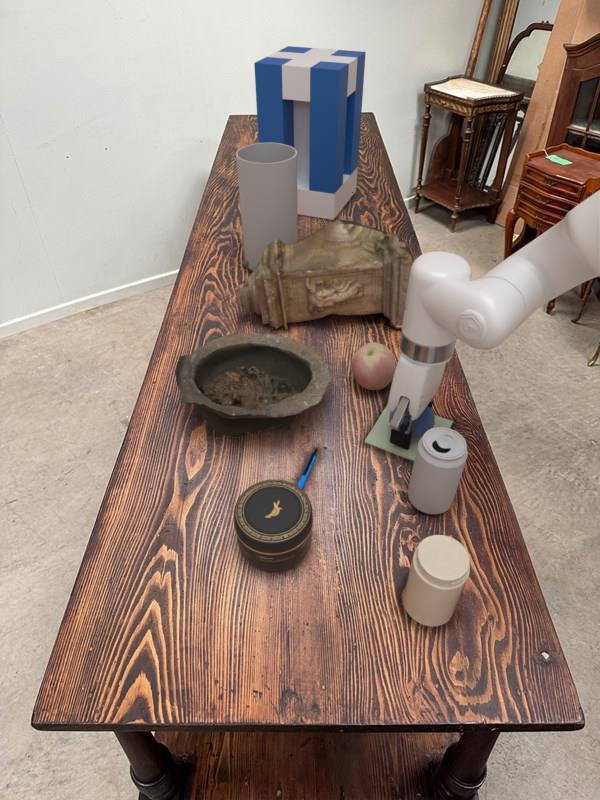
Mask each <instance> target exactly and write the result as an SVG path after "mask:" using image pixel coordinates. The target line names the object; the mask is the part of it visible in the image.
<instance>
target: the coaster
mask: <svg viewBox="0 0 600 800" xmlns="http://www.w3.org/2000/svg"><path fill="white" fill-rule="evenodd" d="M390 412H391V411H389V410H388V408H387V405H385V407H384V409H383V410H382V411H381V414H380V415H379V417H378V418H377V420H376V422H375V423H374V425H373V426H372V428H371V429H370V431H369V433H368V434H367V436H366V438H365V440H364V442H363V443H364V444H366V445H370V446H372V447H375V448H377V449H380V450H382V451H385V452H388V453H390V454H393V455H395V456H397V457H401V458H403V459H406V460H409V461H412V462H414V461H415V456H416V452H417V447H418V443H419V440H420V439H421V438H422V437H421V438H411V443H410V448H409V449H408V450H405V449H403V448H401V447H399V446H396V445H394V444H392V443H390V436H391V430H392V428H391V427H389V425H390V422H389V416H390ZM453 423H454V421H453V420H450V419H448V418H446V417H442V416H439V415H436V414H435V423H434V426H433V428H436V427H445V428H450V429H451V427H452V425H453Z"/></svg>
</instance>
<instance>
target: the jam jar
mask: <svg viewBox="0 0 600 800" xmlns="http://www.w3.org/2000/svg"><path fill="white" fill-rule="evenodd" d="M470 573H471V560H470V556H469V553H468V551H467V549H466V548H465V546H464V545H463V544H462V543H461V542H459V540H457V539H455V538H453V537H452V536H449V535H445V534H432V535H430V536H427V537H425V538H423V539H422V540H421V541H420V542H419V543H418V546H417V548H416V549H415V550H414V553H413V556H412V560H411V563H410V567H409V571H408V575H407V578H406V583H405V586H404V590H403V594H402V603H403V606H404V610H405V611H406V612H407V614H408V615H409V617H410V618H412V619H413V620H414V621H415V622H416V623H419V624H420V625H422V626H426V627H431V628H432V627H440V626H443V625H445V624H447V623H448V622H449V621H450V620H451V619H452V617H453V615H454V613H455V610H456V608H457V606H458V603H459V601H460V598H461V596H462V593H463V591H464V588H465V586H466V584H467V581H468V579H469V576H470Z"/></svg>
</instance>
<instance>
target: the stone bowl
mask: <svg viewBox="0 0 600 800" xmlns="http://www.w3.org/2000/svg"><path fill="white" fill-rule="evenodd" d="M174 373H175V374H174V375H175V381H176V385H177V387H178V389H179V390H180V392H181V395H180V398H179V401H180V402H181V403H182V404H187V405H193V406H197V409H198V411H199V413H200V415H201V417H202V418H203V419H204V421H205V422H206V423H207V424H208V425H209V427H210V428H212V430H213V431H214V432H216V433H217V434H222V435H223V436H224V437H228V438H230V439H231V438H232V439H239V438H241V437H242V436H244V435H245V434H246V433H249V434H252V435H257V434H258V433H264V432H266V431H269V430H272V429H275V430H278V431H281V430H284V429H286V428H289V426H290V425H291V424H292V423H294V422H295V420H296V419H297V418H298V416H299V415H300V414H302V413H303V412H304V411H305V410H308V409H310V408H311V407H313V406H315V405H318V404H319V403H320V402H321V401H322V398H323V397H324V395H325V392H326V387H328V385H329V383H330V381H331V375H330V370H329V365H328V362H327V361H326V360H324V359H323V358H321V355H318V354H317V352H315V351H314V350H312V349H311V348H310V347H309V346H306V345H304V344H303V343H301V342H299V341H297V340H295V339H293V338H291V337H288V336H277V335H274V334H272V333H271V334H269V333H264V332H251V333H250V332H249V333H243V334H227V335H224V336H219V337H216V338H214V339H211V340H209V341H207V342H205V343H204V344H203V345H202V346H200V347H198V348H196V349H195V350H194V351H192V352H191V354H185V355H180V356H179V359H178V361H177V363H176V367H175V370H174Z"/></svg>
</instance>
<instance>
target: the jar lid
mask: <svg viewBox="0 0 600 800" xmlns="http://www.w3.org/2000/svg"><path fill="white" fill-rule="evenodd" d="M397 407H398V406H397ZM396 409H397V408H396ZM396 409H395V410H394V411H393V412H390V416H389V422H391V420H392V418H393V416H394V414H395V411H396ZM407 411H408V412H409V410H408V409H407ZM435 415H436V414H435V412H434V410H433V408H432V409H431V408H430V407H429V406H428V405H427V407H426V408H425V409H424V411H423V412H422V414H421V415H420V416H419V417H418V418H417V419H415V420H414V422H413V425H412V428H411V430H412V431H413V433H412V438H421V437H423V435H424V434H425V432H427V431H428V430H430V429H432V428H433V426H434V423H435ZM408 421H409V418H407V417H405V416H404V418H403V421H402V424H404V425H407V424H408Z"/></svg>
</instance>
